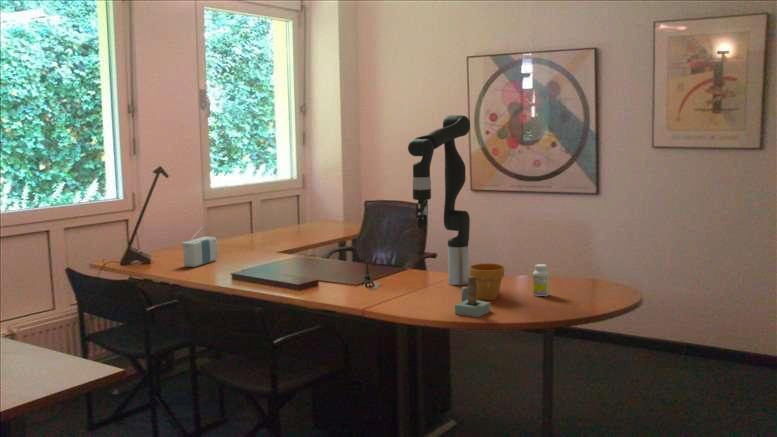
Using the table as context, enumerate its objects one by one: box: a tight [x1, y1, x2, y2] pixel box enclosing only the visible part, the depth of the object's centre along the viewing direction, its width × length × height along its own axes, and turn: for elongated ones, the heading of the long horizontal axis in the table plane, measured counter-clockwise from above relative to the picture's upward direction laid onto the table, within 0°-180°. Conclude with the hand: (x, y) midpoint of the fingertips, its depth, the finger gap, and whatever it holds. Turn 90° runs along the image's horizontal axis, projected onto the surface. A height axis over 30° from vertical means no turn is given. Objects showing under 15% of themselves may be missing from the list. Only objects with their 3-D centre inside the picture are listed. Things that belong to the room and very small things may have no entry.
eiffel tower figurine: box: [360, 259, 382, 291], centre depth 337 cm, size 15×10×13 cm
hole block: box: [454, 299, 491, 318], centre depth 288 cm, size 10×10×4 cm
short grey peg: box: [461, 286, 468, 302], centre depth 300 cm, size 3×3×7 cm
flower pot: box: [469, 263, 505, 301], centre depth 310 cm, size 14×14×13 cm
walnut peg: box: [467, 275, 478, 306], centre depth 287 cm, size 3×3×14 cm
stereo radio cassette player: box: [181, 228, 219, 268], centre depth 396 cm, size 21×8×20 cm, turn 157°
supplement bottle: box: [532, 263, 550, 297], centre depth 312 cm, size 7×7×13 cm
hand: (422, 226), depth 309 cm, fingers open, 8 cm apart
